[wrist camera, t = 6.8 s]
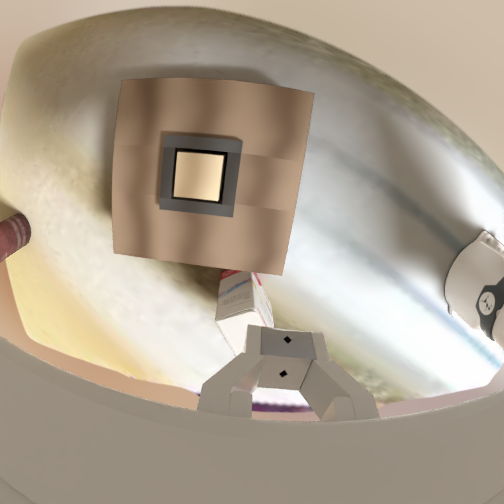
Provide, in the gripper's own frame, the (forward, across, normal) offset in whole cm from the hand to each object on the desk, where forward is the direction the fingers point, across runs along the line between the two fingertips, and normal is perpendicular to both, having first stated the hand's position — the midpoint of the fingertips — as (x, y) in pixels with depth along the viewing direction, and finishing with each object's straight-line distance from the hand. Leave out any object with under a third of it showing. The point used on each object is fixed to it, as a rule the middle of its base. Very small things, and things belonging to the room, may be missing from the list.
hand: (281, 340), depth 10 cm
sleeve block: (+27, +8, -3) cm, 28 cm away
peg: (+26, +8, -3) cm, 28 cm away
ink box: (+27, +1, +14) cm, 30 cm away
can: (+25, +44, +9) cm, 51 cm away
